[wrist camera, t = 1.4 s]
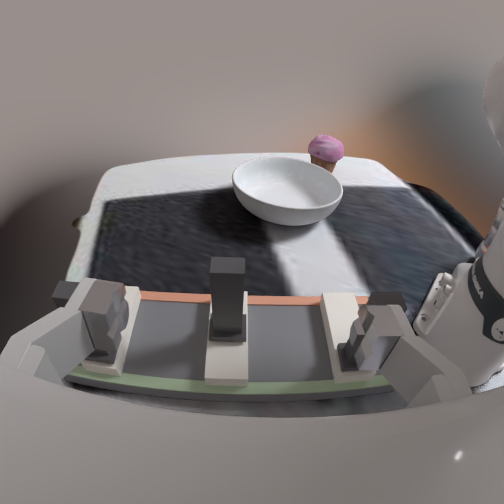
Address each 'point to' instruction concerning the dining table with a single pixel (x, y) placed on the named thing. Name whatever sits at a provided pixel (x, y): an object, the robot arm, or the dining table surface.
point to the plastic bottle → (491, 232)
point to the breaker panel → (266, 353)
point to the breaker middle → (227, 299)
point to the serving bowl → (286, 190)
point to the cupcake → (325, 152)
